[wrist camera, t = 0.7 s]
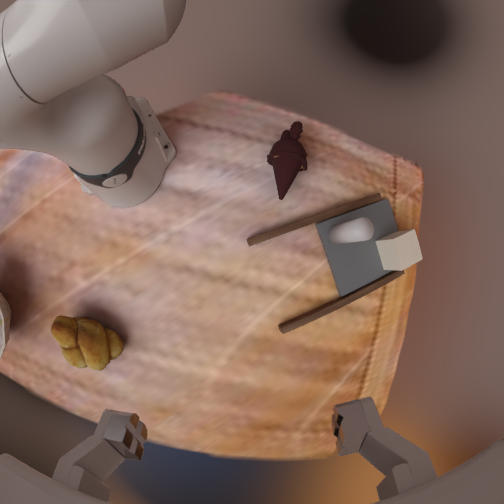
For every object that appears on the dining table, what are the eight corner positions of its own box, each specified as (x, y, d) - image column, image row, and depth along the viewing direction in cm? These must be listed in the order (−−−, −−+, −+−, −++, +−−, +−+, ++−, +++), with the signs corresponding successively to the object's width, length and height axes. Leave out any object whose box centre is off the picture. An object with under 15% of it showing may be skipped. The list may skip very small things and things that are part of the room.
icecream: (311, 202, 42) (319, 127, 44) (271, 186, 39) (284, 109, 41) (289, 210, 48) (299, 141, 51) (252, 197, 46) (266, 126, 48)
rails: (246, 239, 47) (248, 238, 45) (374, 194, 51) (379, 192, 49) (280, 331, 47) (283, 334, 45) (398, 273, 51) (404, 273, 49)
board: (315, 224, 48) (343, 215, 38) (385, 199, 51) (418, 187, 40) (339, 295, 49) (371, 303, 38) (404, 262, 52) (440, 262, 41)
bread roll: (128, 324, 43) (113, 336, 35) (124, 373, 42) (111, 391, 35) (68, 307, 41) (46, 314, 33) (66, 354, 41) (47, 367, 33)
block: (375, 241, 49) (393, 239, 43) (396, 231, 50) (414, 228, 44) (383, 269, 49) (402, 270, 44) (403, 259, 50) (422, 258, 44)
